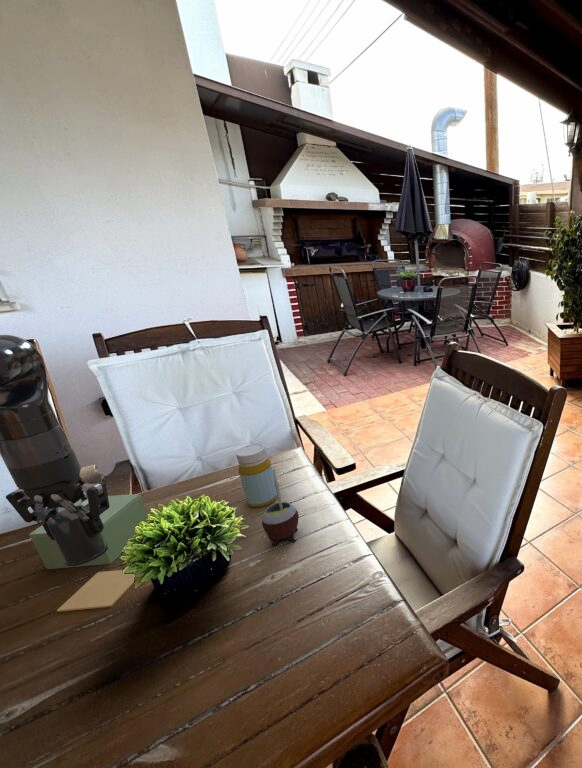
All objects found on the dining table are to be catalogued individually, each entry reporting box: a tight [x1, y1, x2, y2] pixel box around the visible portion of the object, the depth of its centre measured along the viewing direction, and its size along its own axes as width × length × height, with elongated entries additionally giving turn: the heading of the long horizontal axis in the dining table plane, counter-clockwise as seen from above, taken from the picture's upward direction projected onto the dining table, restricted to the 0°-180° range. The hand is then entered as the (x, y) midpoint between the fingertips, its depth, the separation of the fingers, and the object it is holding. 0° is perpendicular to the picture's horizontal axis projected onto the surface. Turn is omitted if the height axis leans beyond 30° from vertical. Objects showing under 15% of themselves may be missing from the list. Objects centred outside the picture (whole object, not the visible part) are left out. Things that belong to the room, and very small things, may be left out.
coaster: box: [56, 569, 135, 613], centre depth 78 cm, size 9×9×1 cm
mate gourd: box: [261, 468, 300, 548], centre depth 89 cm, size 8×8×15 cm
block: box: [28, 493, 149, 570], centre depth 87 cm, size 12×12×9 cm
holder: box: [47, 506, 109, 566], centre depth 73 cm, size 6×6×9 cm
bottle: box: [235, 443, 278, 508], centre depth 101 cm, size 7×7×15 cm
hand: (78, 535), depth 73 cm, fingers closed on holder, 5 cm apart
